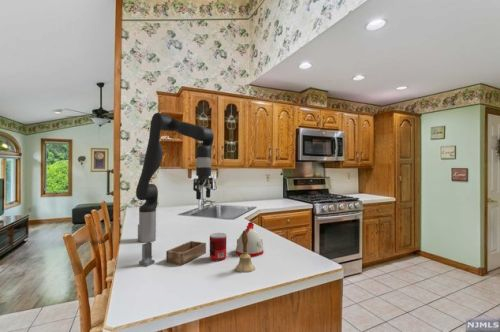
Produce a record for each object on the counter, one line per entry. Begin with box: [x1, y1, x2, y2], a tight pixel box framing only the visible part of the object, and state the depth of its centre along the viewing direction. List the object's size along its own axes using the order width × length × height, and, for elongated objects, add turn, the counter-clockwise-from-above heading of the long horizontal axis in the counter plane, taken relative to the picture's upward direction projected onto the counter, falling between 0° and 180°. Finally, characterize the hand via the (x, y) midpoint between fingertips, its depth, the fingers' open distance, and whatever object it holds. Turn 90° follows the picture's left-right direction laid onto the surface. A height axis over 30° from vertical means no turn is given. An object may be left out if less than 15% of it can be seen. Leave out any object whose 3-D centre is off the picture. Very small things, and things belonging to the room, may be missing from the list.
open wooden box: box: [165, 240, 207, 266], centre depth 120 cm, size 9×18×5 cm, turn 156°
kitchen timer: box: [235, 221, 264, 258], centre depth 128 cm, size 14×14×15 cm
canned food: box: [209, 232, 227, 262], centre depth 119 cm, size 8×8×11 cm
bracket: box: [138, 242, 156, 267], centre depth 112 cm, size 5×4×9 cm
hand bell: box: [235, 229, 256, 273], centre depth 106 cm, size 8×8×16 cm
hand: (203, 198), depth 129 cm, fingers open, 8 cm apart
